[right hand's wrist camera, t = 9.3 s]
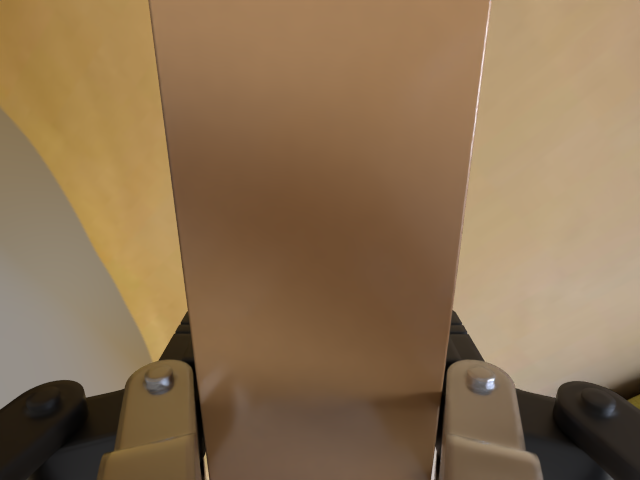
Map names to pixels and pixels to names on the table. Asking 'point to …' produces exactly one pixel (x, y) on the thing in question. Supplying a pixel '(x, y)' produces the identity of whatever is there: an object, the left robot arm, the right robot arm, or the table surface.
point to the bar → (320, 222)
